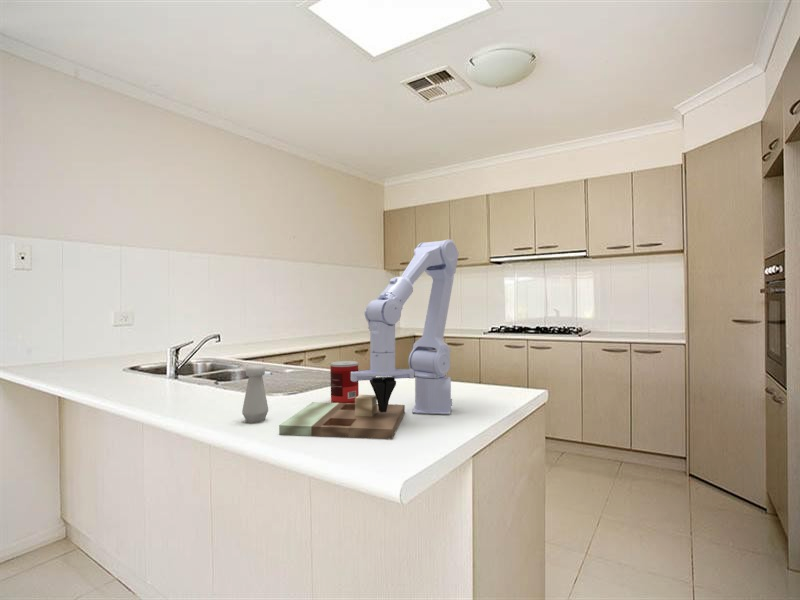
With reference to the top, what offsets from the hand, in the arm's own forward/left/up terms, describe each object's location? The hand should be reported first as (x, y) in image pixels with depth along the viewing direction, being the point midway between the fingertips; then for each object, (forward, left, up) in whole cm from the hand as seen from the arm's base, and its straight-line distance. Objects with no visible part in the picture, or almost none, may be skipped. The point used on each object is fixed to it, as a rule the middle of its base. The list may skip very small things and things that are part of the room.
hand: (382, 411), depth 102 cm
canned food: (+14, -21, -3) cm, 26 cm away
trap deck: (+8, 0, -3) cm, 9 cm away
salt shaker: (+30, +1, -3) cm, 30 cm away
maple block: (+4, -1, -1) cm, 4 cm away
